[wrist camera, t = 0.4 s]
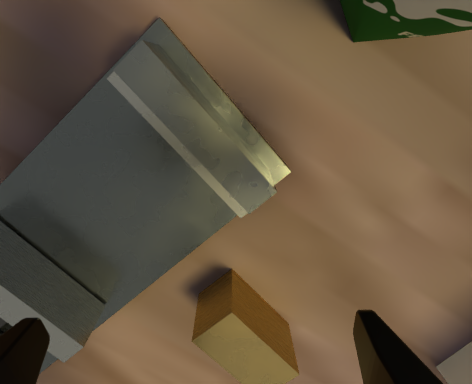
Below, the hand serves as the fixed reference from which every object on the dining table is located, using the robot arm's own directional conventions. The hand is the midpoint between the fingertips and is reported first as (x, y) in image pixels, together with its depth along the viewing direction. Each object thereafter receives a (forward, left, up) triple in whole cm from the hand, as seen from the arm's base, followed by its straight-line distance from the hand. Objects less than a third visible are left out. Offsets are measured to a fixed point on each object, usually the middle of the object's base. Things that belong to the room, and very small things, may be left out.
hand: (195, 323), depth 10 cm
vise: (-10, +3, -14) cm, 18 cm away
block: (-6, -10, -15) cm, 19 cm away
